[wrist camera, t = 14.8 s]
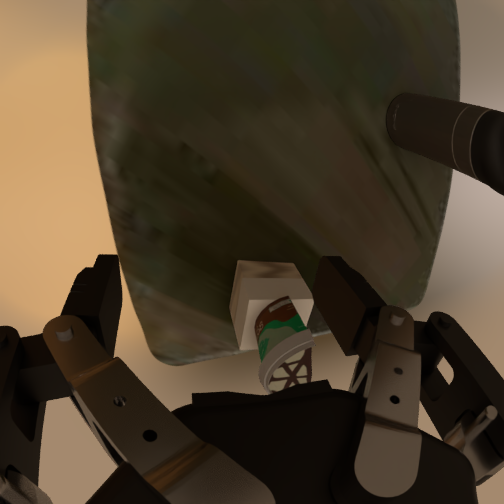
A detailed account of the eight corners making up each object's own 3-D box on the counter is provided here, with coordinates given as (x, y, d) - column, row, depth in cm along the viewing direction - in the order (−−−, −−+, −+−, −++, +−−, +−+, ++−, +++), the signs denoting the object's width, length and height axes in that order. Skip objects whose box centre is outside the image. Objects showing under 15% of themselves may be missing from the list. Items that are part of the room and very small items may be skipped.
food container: (239, 297, 38) (256, 357, 30) (287, 286, 39) (315, 341, 31) (251, 360, 45) (267, 415, 36) (291, 350, 45) (313, 403, 37)
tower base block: (293, 262, 50) (303, 280, 46) (280, 307, 54) (288, 326, 50) (237, 259, 48) (243, 277, 43) (229, 306, 52) (233, 326, 47)
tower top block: (302, 278, 45) (314, 299, 41) (289, 325, 50) (298, 346, 45) (242, 277, 43) (249, 299, 39) (234, 326, 47) (239, 350, 43)
